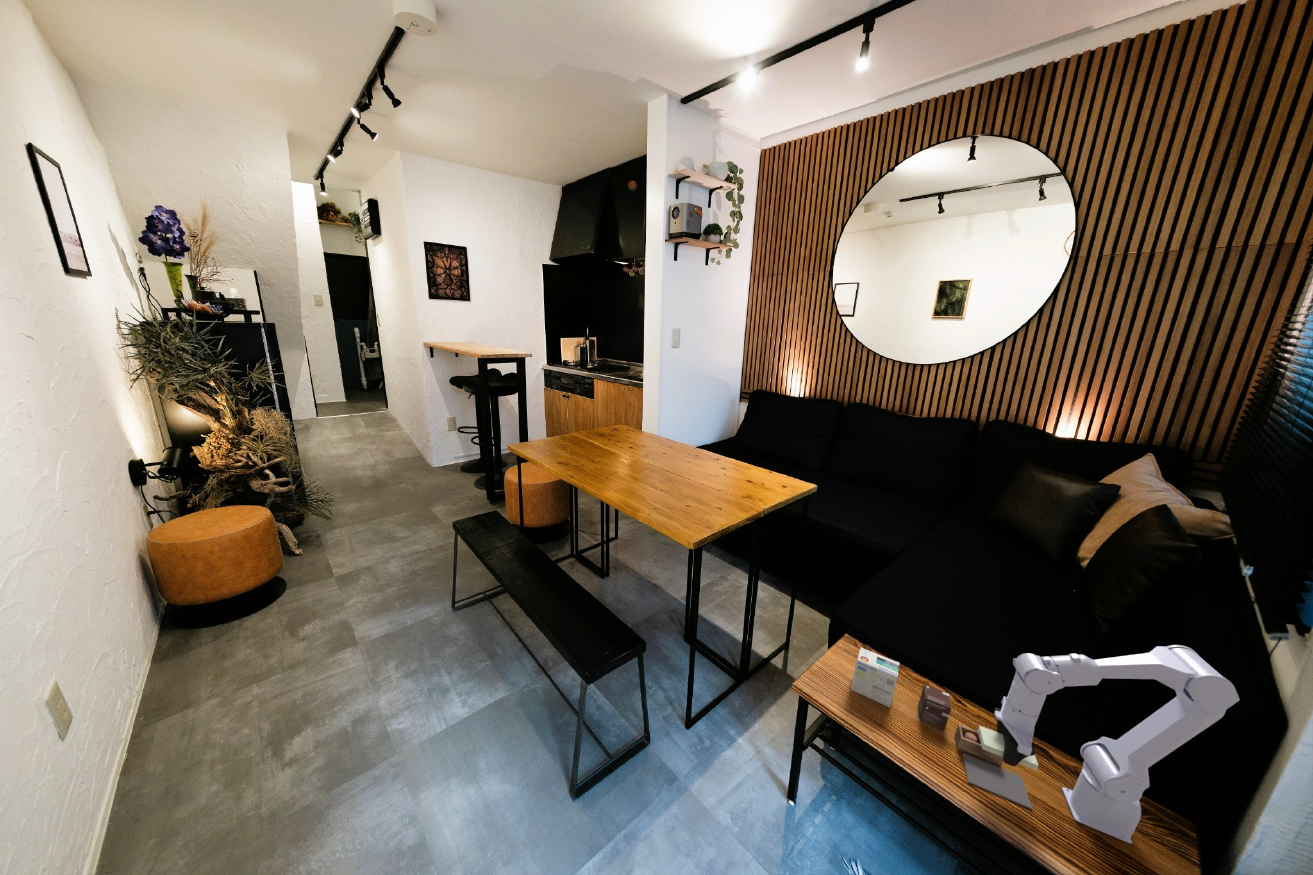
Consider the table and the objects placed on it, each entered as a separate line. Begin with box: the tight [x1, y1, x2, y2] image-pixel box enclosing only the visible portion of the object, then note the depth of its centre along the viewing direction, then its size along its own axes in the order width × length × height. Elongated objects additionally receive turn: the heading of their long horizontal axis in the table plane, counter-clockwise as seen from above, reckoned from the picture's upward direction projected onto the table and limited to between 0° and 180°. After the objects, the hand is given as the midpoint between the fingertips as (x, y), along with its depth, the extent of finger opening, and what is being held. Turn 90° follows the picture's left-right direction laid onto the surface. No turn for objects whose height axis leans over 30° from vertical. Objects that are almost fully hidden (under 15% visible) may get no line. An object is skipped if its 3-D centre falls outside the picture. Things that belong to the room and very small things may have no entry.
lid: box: [977, 725, 1039, 772], centre depth 101 cm, size 10×6×2 cm, turn 64°
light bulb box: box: [850, 647, 900, 708], centre depth 125 cm, size 11×7×11 cm, turn 58°
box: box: [917, 683, 952, 731], centre depth 119 cm, size 6×6×7 cm
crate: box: [954, 724, 1004, 769], centre depth 110 cm, size 9×4×4 cm, turn 64°
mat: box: [961, 753, 1033, 811], centre depth 104 cm, size 12×8×1 cm, turn 64°
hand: (1005, 752), depth 101 cm, fingers closed on lid, 5 cm apart
